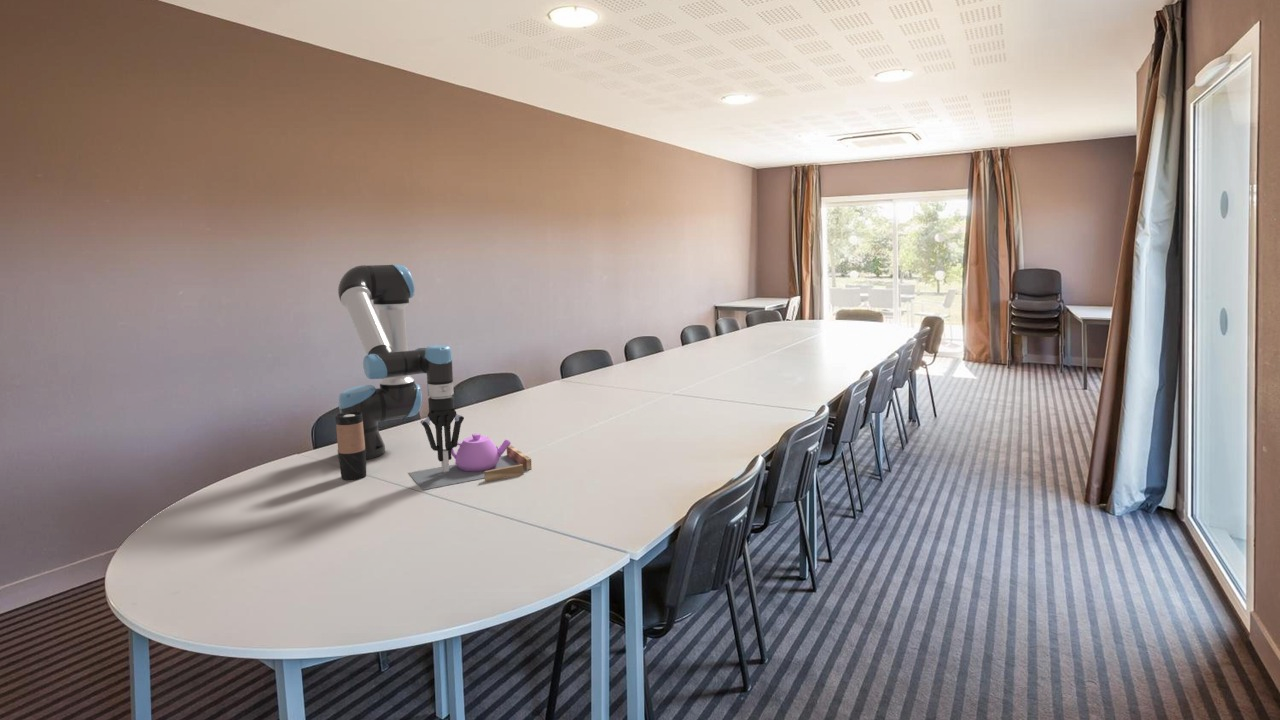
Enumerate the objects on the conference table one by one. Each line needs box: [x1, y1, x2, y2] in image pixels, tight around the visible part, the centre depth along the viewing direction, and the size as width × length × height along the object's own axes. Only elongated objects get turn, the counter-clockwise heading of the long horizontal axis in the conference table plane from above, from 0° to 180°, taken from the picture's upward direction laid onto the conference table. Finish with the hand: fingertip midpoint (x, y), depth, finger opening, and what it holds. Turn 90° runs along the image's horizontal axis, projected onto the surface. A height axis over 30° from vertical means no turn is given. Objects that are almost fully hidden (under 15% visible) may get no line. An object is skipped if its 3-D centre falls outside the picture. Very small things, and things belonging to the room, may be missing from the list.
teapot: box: [451, 433, 512, 472], centre depth 208 cm, size 14×20×11 cm
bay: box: [484, 444, 533, 483], centre depth 209 cm, size 24×16×4 cm, turn 32°
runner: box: [408, 454, 531, 491], centre depth 204 cm, size 18×34×1 cm, turn 122°
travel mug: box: [335, 412, 367, 482], centre depth 198 cm, size 8×8×20 cm
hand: (445, 470), depth 200 cm, fingers closed
